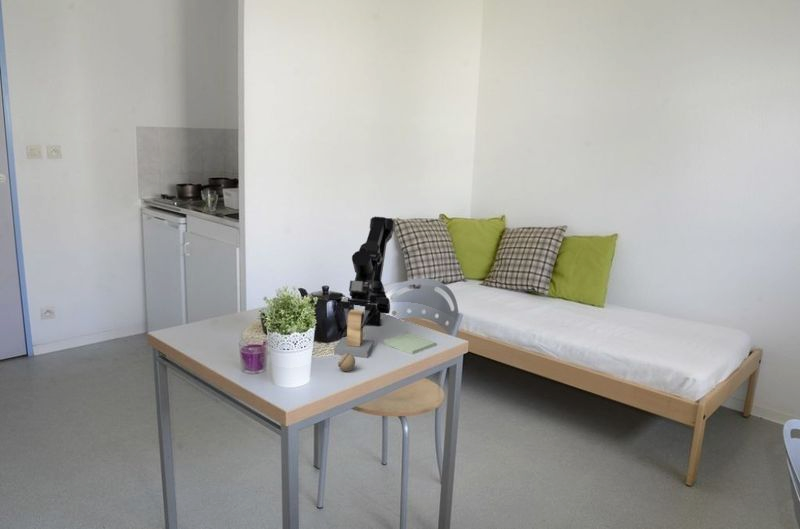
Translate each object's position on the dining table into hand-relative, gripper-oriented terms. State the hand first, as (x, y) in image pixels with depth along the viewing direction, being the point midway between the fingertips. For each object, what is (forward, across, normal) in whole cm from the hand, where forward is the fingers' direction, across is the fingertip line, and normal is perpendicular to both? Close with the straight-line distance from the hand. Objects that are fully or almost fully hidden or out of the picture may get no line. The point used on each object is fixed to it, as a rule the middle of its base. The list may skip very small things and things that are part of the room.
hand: (354, 327), depth 182 cm
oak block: (+3, 0, +5) cm, 6 cm away
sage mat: (-3, +16, +14) cm, 21 cm away
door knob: (+16, +1, -5) cm, 17 cm away
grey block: (+4, 0, +6) cm, 8 cm away
